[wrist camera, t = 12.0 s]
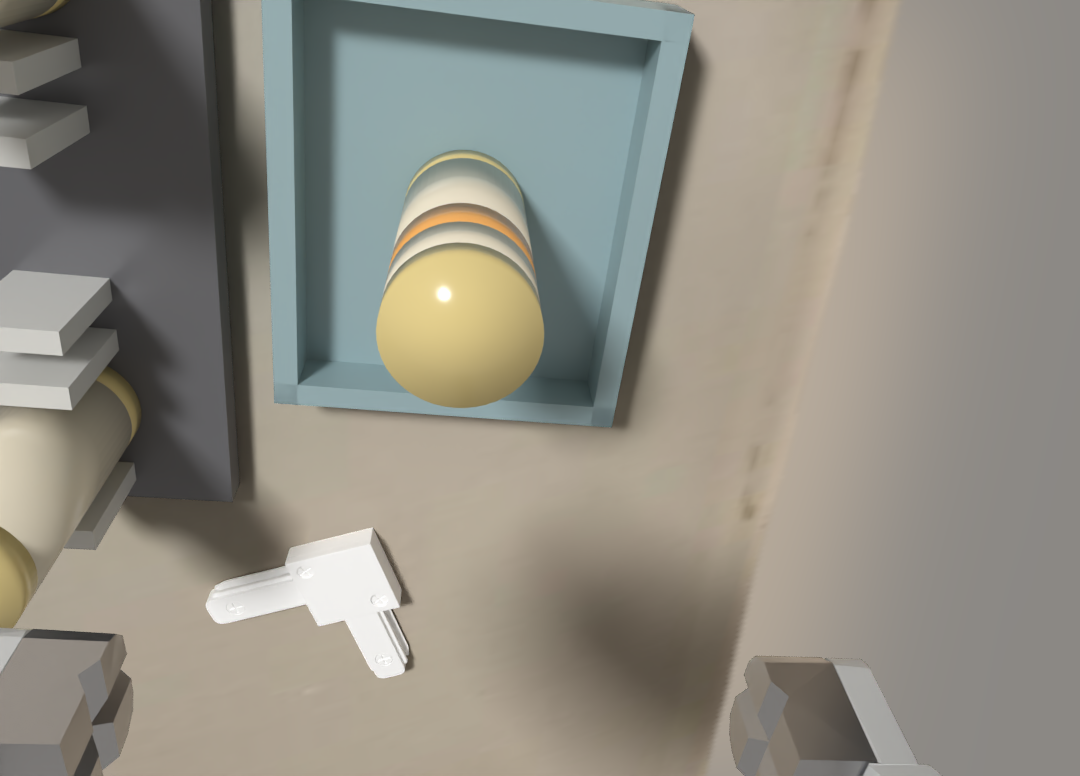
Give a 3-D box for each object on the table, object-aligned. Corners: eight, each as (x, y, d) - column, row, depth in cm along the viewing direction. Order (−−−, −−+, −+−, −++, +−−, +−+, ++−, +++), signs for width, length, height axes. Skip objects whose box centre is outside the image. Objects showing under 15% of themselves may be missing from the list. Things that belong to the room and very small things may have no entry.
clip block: (-209, -268, 22) (-388, -311, 17) (199, -205, 23) (131, -230, 18) (-27, 467, 33) (-106, 557, 28) (239, 483, 34) (204, 572, 30)
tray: (278, -50, 25) (259, -44, 23) (676, 4, 26) (694, 14, 24) (287, 368, 32) (274, 402, 29) (602, 392, 33) (611, 427, 31)
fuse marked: (407, 143, 27) (378, 249, 19) (531, 156, 28) (555, 266, 19) (401, 259, 29) (373, 402, 21) (516, 270, 30) (533, 414, 21)
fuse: (13, 351, 29) (-165, 529, 21) (135, 361, 30) (6, 538, 22) (33, 447, 31) (-124, 644, 23) (147, 454, 32) (32, 649, 24)
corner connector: (273, 682, 41) (266, 710, 39) (199, 561, 37) (188, 588, 35) (432, 645, 40) (430, 672, 39) (374, 519, 36) (370, 543, 35)
